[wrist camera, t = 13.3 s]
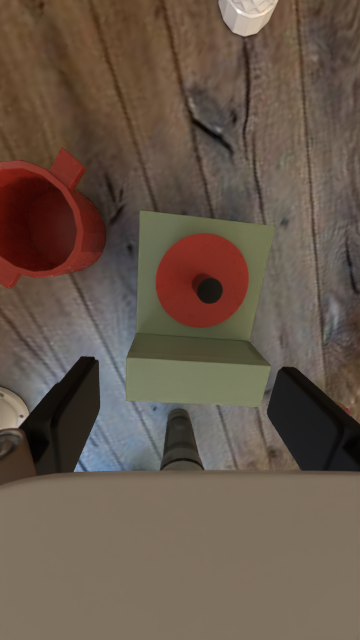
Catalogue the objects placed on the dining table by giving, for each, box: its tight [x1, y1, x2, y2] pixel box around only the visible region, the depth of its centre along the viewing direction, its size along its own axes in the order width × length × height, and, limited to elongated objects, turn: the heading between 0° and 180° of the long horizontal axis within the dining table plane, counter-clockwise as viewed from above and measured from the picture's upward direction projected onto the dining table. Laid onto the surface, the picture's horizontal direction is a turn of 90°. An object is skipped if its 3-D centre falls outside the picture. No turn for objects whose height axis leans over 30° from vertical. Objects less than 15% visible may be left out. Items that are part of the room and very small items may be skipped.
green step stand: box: [126, 210, 275, 407], centre depth 28 cm, size 22×17×13 cm
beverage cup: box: [160, 409, 204, 471], centre depth 33 cm, size 7×7×20 cm
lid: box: [156, 233, 249, 328], centre depth 24 cm, size 12×12×6 cm
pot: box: [0, 148, 106, 288], centre depth 26 cm, size 11×17×8 cm
